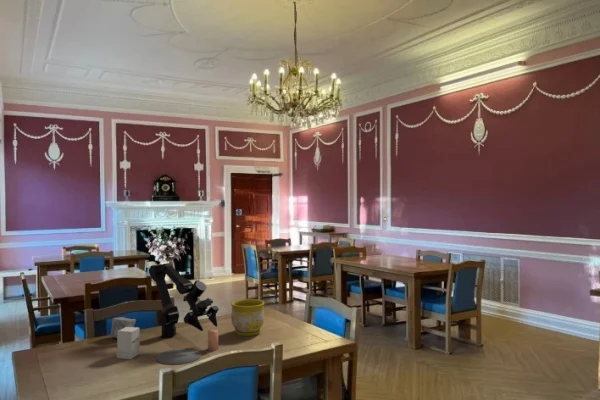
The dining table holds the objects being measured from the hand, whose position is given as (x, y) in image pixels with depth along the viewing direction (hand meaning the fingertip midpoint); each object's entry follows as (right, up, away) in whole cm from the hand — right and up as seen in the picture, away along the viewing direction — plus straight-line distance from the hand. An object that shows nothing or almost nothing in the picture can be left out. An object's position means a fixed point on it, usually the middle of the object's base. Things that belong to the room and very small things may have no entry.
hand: (209, 328), depth 224 cm
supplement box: (-36, -10, -11) cm, 39 cm away
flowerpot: (+16, -10, +25) cm, 32 cm away
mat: (-12, -10, -12) cm, 20 cm away
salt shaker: (+2, -10, -1) cm, 10 cm away
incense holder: (-49, -10, +17) cm, 53 cm away
